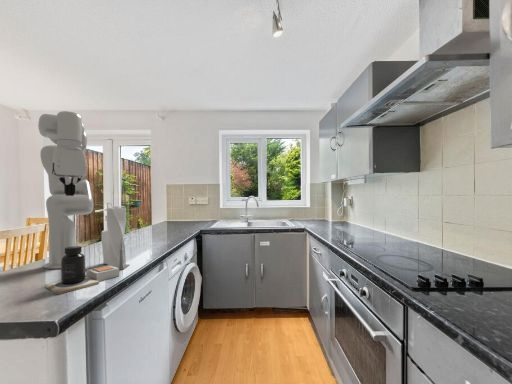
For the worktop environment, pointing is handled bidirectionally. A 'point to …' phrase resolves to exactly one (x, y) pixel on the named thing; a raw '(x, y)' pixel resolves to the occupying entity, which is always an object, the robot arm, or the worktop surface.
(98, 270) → the button
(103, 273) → the button housing
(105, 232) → the drinking glass
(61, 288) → the cream square coaster
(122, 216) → the skyscraper
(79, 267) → the supplement bottle
